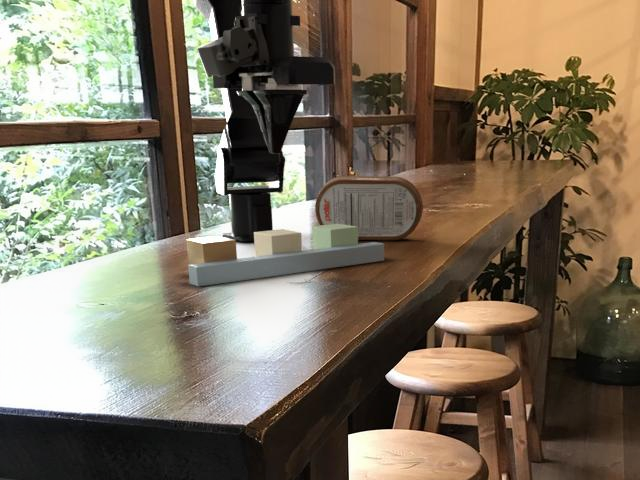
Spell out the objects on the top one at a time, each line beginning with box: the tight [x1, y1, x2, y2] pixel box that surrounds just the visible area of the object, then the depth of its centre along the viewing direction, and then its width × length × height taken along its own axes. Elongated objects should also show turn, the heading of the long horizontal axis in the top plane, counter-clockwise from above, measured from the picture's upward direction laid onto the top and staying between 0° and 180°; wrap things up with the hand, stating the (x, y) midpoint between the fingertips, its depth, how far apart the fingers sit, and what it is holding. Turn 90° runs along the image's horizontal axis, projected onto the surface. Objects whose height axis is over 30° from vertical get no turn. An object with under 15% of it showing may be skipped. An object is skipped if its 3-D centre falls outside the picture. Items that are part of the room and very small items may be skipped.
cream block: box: [253, 228, 303, 257], centre depth 94 cm, size 4×4×4 cm
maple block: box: [185, 235, 238, 265], centre depth 89 cm, size 4×4×4 cm
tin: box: [314, 175, 424, 241], centre depth 112 cm, size 15×3×8 cm, turn 84°
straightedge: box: [187, 241, 385, 288], centre depth 92 cm, size 2×25×2 cm, turn 127°
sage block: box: [311, 224, 359, 250], centre depth 98 cm, size 4×4×4 cm
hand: (274, 153), depth 99 cm, fingers closed
